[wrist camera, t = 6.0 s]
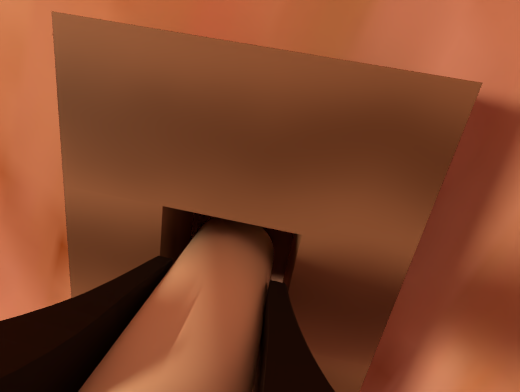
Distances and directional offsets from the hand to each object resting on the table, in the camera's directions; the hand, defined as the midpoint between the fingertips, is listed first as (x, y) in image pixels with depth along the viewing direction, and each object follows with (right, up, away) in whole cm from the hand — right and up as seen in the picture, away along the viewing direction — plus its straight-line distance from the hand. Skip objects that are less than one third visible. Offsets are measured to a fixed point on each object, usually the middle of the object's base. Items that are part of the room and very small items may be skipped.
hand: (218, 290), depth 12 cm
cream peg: (0, +1, +3) cm, 3 cm away
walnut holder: (+1, +1, +4) cm, 5 cm away
